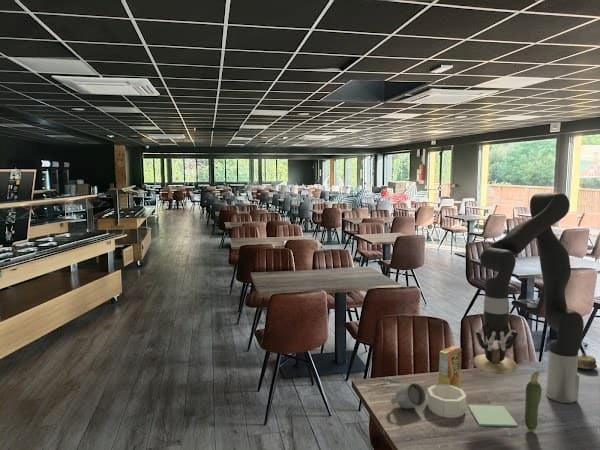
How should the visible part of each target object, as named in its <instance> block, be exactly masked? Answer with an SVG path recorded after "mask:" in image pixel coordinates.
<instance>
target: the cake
mask: <svg viewBox="0 0 600 450" xmlns="http://www.w3.org/2000/svg"><path fill="white" fill-rule="evenodd" d="M597 367H598V365H597V361H596V358H595V357H593V356H591V355H589V354H588V355H586V354H585V353H583V352H582V354H581V355H578V365H577V368H580V369H585V370H593V369H597Z"/></svg>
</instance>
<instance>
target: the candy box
mask: <svg viewBox="0 0 600 450" xmlns="http://www.w3.org/2000/svg"><path fill="white" fill-rule="evenodd" d="M462 353H463V349H462V348H460V347H458V346H455V345H452V346H449V347H447V348H445V349H442V350H440V351H439V365H438V384H449V385H452V386H455V387H457V388H461V377H462V376H461V375H462V374H461V373H462V357H463V356H462V355H463V354H462Z"/></svg>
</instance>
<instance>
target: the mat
mask: <svg viewBox="0 0 600 450" xmlns="http://www.w3.org/2000/svg"><path fill="white" fill-rule="evenodd" d="M467 407H468V409H469V410H470V412H471V414H472V416H473V417H474V419H475V421H476V423H477V424H478V426H480V427H481V426H485V427H512V428H513V427H515V428H519V427H518V426H519V424H518V423H517V422H516V420H515V419H514V417H512V415H511V414H510V413H509V411H508V410H507V409H506V407H505V406H504V405H489V404H488V405H482V404H481V405H479V404H468V405H467Z"/></svg>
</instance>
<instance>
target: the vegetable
mask: <svg viewBox="0 0 600 450" xmlns="http://www.w3.org/2000/svg"><path fill="white" fill-rule="evenodd" d="M540 375H541V374H540V371H534V372H533V373H532V374H531V375H530V381H528V383H527V384H526V387H525V408H524V423H525V426H526V427H527V430H528V432H529V433H532V432H534V431H536V430H537V429H536V428H537V427H538V415H539V413H538V412H539V405H540V403H541V398H542V393H543V392H542V386H541V384H540V383H539V382H538V379H539V377H540Z"/></svg>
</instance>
